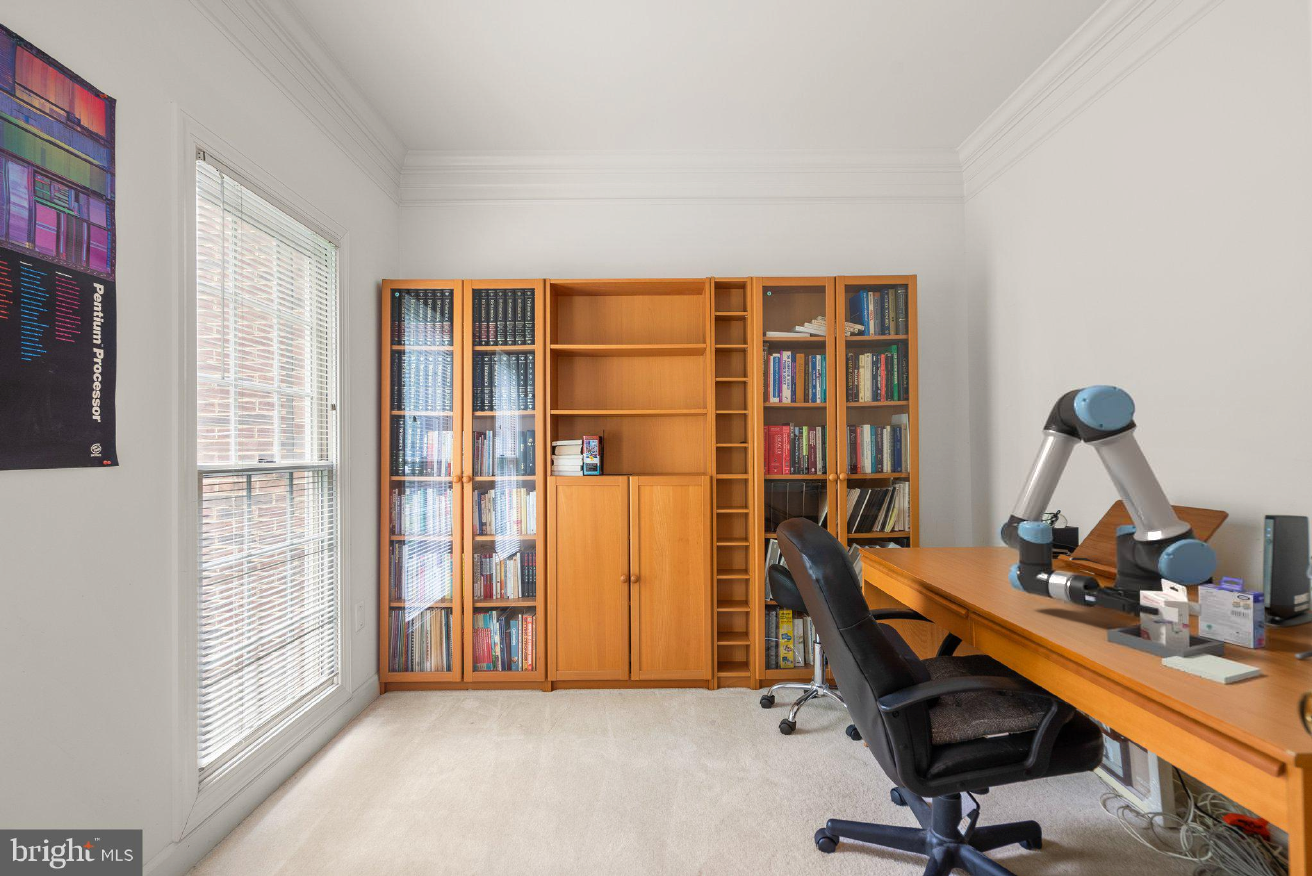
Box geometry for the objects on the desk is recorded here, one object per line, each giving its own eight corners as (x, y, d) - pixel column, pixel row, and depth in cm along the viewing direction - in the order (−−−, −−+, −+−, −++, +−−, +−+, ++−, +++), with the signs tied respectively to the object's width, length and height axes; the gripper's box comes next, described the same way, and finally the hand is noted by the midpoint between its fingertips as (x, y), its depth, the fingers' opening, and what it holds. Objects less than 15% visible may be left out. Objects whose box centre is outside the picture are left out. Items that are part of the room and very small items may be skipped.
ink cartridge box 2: (1267, 646, 125) (1265, 582, 125) (1255, 650, 123) (1254, 584, 123) (1209, 633, 134) (1208, 573, 134) (1197, 636, 132) (1196, 575, 132)
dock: (1147, 633, 134) (1147, 623, 134) (1224, 654, 121) (1224, 642, 121) (1107, 640, 129) (1107, 630, 129) (1183, 663, 116) (1183, 651, 116)
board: (1197, 656, 119) (1197, 651, 119) (1260, 674, 110) (1260, 668, 110) (1162, 664, 115) (1161, 658, 115) (1224, 684, 106) (1224, 677, 106)
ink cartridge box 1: (1139, 640, 130) (1137, 577, 130) (1163, 641, 129) (1162, 578, 129) (1164, 653, 121) (1163, 586, 121) (1191, 655, 120) (1189, 587, 120)
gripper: (1099, 598, 146) (1214, 623, 125) (1050, 609, 137) (1164, 637, 116) (1099, 569, 146) (1213, 589, 125) (1049, 578, 137) (1163, 601, 116)
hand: (1189, 612), depth 121 cm, fingers closed on ink cartridge box 1, 9 cm apart
